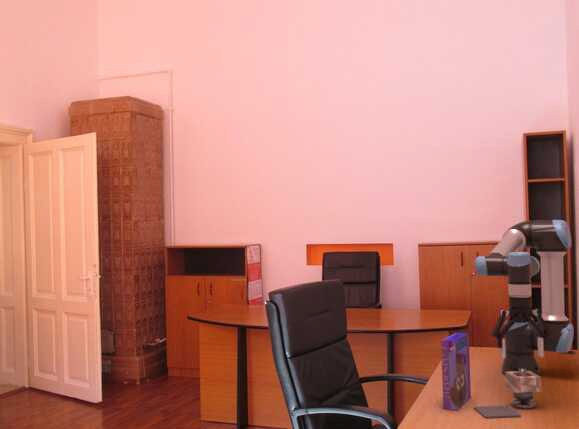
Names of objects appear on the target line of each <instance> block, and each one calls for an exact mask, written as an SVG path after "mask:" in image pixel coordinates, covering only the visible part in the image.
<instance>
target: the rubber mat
mask: <svg viewBox="0 0 579 429" xmlns="http://www.w3.org/2000/svg"><path fill="white" fill-rule="evenodd" d="M473 409H474V411H476V412H477V413H478V414H480V416H482V417H483V418H484V419H506V418H522V415H521V414H520V413H518V412H517V411H516V410H514V409H513V408H512V407H511V406H509V405H504V404H503V405H490V406H489V405H482V406H473Z"/></svg>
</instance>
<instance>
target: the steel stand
mask: <svg viewBox="0 0 579 429" xmlns="http://www.w3.org/2000/svg"><path fill="white" fill-rule="evenodd" d="M522 376H526V368H519V377H522ZM512 392H513V393H512V395H513V398H514V399H512V400H511V406H512V407H513V408H514V409H519V410H534V409H536V408H537V402H536V401H534V398H535V397H534V392H523V393H516V392H514V391H512Z"/></svg>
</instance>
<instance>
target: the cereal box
mask: <svg viewBox="0 0 579 429" xmlns="http://www.w3.org/2000/svg"><path fill="white" fill-rule="evenodd" d="M440 343H441V344H440V345H441V346H440V348H441V349H440V350H441V375H442V376H441V377H442V378H441V379H442V380H441V381H442V404H443V405H442V406H443V407H442V409H443V410H447V411H453V412H454V411H455V412H458V411H459V410H460V409H461V408H462V407H463V406H465V405H466V403H468V402H469V401H470V400H471V398H472V393H471V392H472V390H471V388H472V387H471V386H472V385H471V365H470V364H471V362H470V360H471V357H470V333H467V332H463V331H462V332H454V333H452V334H451V335H449V336H446V338H444V339H441V340H440Z"/></svg>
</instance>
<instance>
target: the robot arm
mask: <svg viewBox="0 0 579 429" xmlns="http://www.w3.org/2000/svg"><path fill="white" fill-rule="evenodd" d="M570 248H572V235H571V230H570V227H569V224H568V223H567V221H565V220H564V219H563V220H562V219H547V220H545V219H544V220H543V219H542V220H524V221H520V222H518V223H516V224H514V225H513V226H511V227H509V228H508V229H507V230H506V231H505V232H504V233H503V234H502V238H501V239H500V241H499V242H498V243H497V244H496V245H495V247H494V248H492V250H491V251H490V252H489V253H488V255H479V256H477V257H476V258H475V261H474V269H475V272H476V275H478V276H480V277H481V276H482V277H507V279H508V280H507V281H508V282H507V283H508V284H507V285H508V286H507V287H508V288H507V289H508V295H509V296H508V310H504V309H500V310H499V315H498V316H499V317H498V319H497V322H496V323H495V325H494V328H493V330H492V332H491V336H492V337H493V338H496V339H497V340H496V341H497V342H496V343H497V344H496V345H497V346H496V347H497V348H498V349H499V357H500V358H502V359H503V362H502V363H501V364H502V365H501V374H503V375H505V372H513V371H519V368H526V371H531V372H533V373H534V374H536V375H538V376H540V372H541V371H540V367H539V364H538V362H537V359H536V355H535V351H537V356H538V357H540V358H544V356H545V355H544V352H551V353H552V352H553V353H557V354H558V353H565V354H566V353H568V352H570V350H571V349H572V345H573V340H574V334H575V333H574V332H575V331H574V330H575V329H574V325H573V324H572V323H570V321H569V320H570V318H568V317H567V316H566V315H565V282H564V256H565V255H566V254H567V253H568V249H570ZM523 249H536V254H538V256H540V261H539V260H538V259H537V258H536V257H534V256H533V255H532V256H531V254H530V253H529V252H528V251H521V250H523ZM539 272H540V280H541V281H540V283H541V285H540V286H541V289H540V291H541V309H538V308H535V309H532V307H533V304H532V302H533V301H532V300H533V299H532V297H531V296H532V280H531V279H532V277H534V276H536V275H537V274H538V273H539ZM508 316H509V318H508V319H507V320H506V318H507V317H508ZM532 316H535V319H536V320H537V321H534V318H533V317H532ZM505 320H506V321H505ZM503 324H504V325H503Z"/></svg>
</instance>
